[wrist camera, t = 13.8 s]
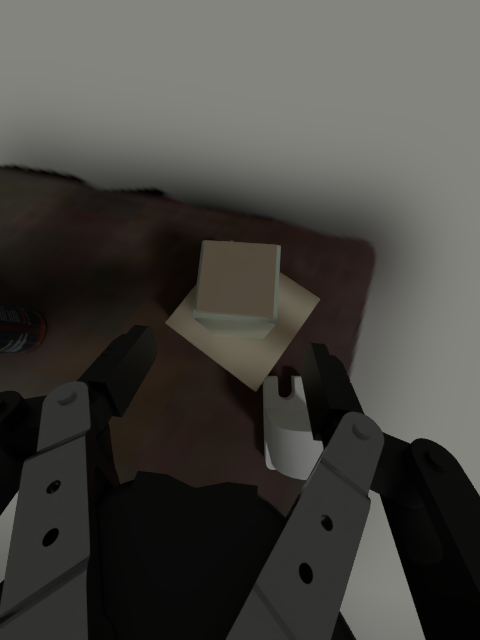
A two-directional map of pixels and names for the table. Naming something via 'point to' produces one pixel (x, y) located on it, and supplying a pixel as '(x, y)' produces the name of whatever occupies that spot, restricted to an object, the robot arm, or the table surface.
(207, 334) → the beech block
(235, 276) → the sage canister
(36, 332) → the supplement bottle
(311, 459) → the cable organizer
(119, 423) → the table surface
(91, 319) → the table surface
